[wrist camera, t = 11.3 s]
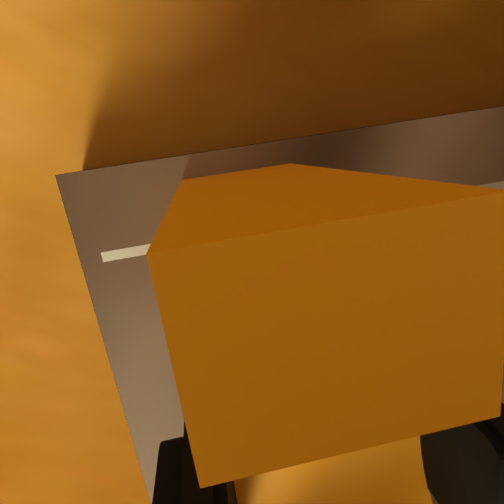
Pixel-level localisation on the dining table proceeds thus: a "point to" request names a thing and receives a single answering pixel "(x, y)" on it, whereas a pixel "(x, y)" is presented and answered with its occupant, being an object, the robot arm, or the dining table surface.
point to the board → (218, 162)
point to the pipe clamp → (329, 326)
